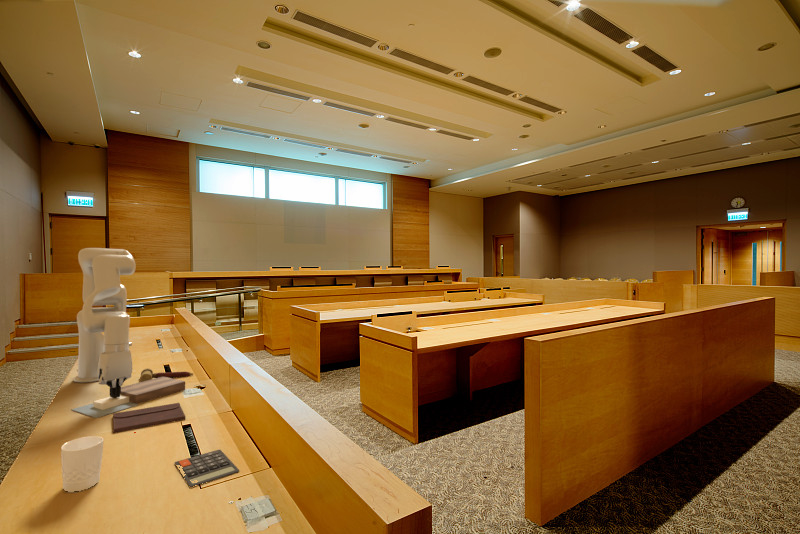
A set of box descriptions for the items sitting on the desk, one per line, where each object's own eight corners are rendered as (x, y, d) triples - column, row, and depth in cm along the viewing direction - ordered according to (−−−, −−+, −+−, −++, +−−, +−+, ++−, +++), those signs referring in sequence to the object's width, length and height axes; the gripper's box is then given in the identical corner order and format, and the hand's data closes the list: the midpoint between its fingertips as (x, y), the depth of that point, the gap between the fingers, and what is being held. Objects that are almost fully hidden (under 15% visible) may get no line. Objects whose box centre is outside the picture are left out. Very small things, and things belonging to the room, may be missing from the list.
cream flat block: (92, 406, 141) (93, 401, 141) (119, 399, 150) (119, 394, 149) (102, 409, 139) (103, 404, 139) (129, 402, 147) (129, 396, 147)
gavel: (193, 366, 189) (194, 371, 180) (192, 376, 189) (193, 381, 180) (141, 368, 178) (140, 374, 169) (140, 378, 178) (139, 384, 169)
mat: (71, 410, 138) (71, 409, 138) (113, 398, 151) (113, 397, 151) (95, 418, 132) (95, 417, 132) (138, 405, 145) (138, 404, 145)
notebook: (185, 420, 133) (185, 415, 133) (113, 434, 121) (113, 428, 121) (178, 407, 145) (179, 402, 145) (112, 418, 133) (113, 412, 133)
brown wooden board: (113, 398, 151) (113, 389, 151) (163, 384, 170) (163, 376, 170) (135, 404, 146) (136, 395, 146) (185, 389, 164) (185, 381, 164)
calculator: (220, 448, 112) (239, 469, 101) (219, 451, 112) (239, 473, 101) (174, 461, 104) (190, 486, 93) (174, 464, 104) (190, 489, 93)
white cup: (76, 476, 97) (77, 435, 97) (110, 475, 98) (111, 435, 98) (50, 494, 89) (52, 451, 89) (87, 494, 90) (88, 450, 90)
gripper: (130, 343, 154) (129, 389, 154) (87, 350, 140) (86, 401, 140) (143, 345, 151) (141, 392, 151) (100, 352, 137) (98, 405, 137)
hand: (115, 396), depth 145 cm, fingers closed
